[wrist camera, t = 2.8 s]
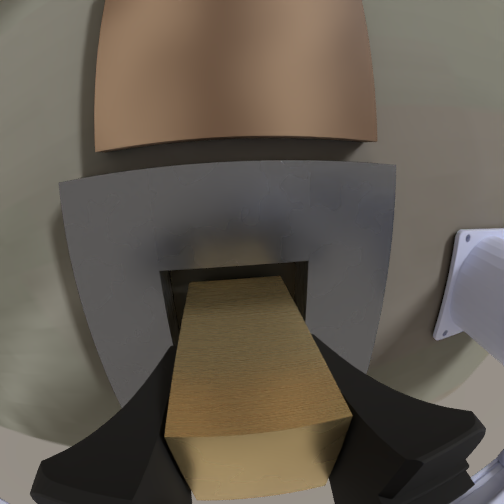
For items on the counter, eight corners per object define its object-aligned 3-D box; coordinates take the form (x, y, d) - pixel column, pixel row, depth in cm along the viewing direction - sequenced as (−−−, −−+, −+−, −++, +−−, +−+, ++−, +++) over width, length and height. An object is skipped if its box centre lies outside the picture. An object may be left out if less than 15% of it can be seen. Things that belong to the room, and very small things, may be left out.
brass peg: (280, 275, 13) (352, 416, 5) (279, 347, 14) (325, 485, 6) (189, 282, 12) (164, 436, 5) (200, 354, 14) (197, 500, 6)
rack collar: (373, 162, 13) (396, 165, 11) (346, 385, 17) (357, 405, 15) (79, 178, 11) (58, 182, 9) (136, 403, 16) (130, 425, 14)
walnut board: (345, -21, 9) (354, -30, 8) (364, 142, 12) (377, 141, 11) (118, -20, 8) (112, -31, 7) (105, 152, 11) (95, 152, 10)
